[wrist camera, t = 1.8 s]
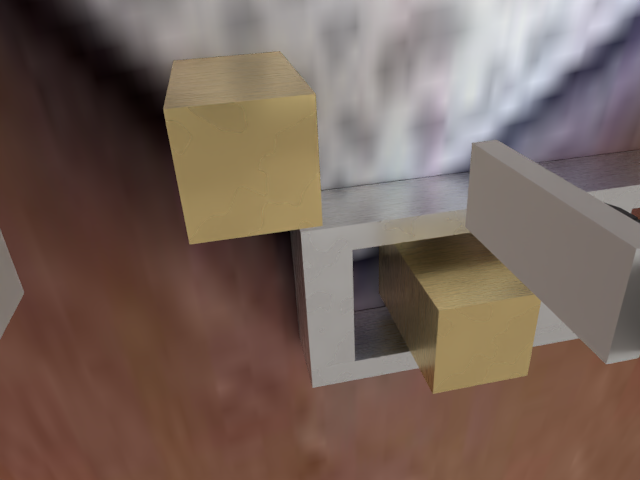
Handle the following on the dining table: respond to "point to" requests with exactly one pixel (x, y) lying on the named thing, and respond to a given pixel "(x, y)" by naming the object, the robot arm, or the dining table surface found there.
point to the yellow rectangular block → (243, 146)
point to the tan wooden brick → (458, 310)
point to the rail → (397, 227)
